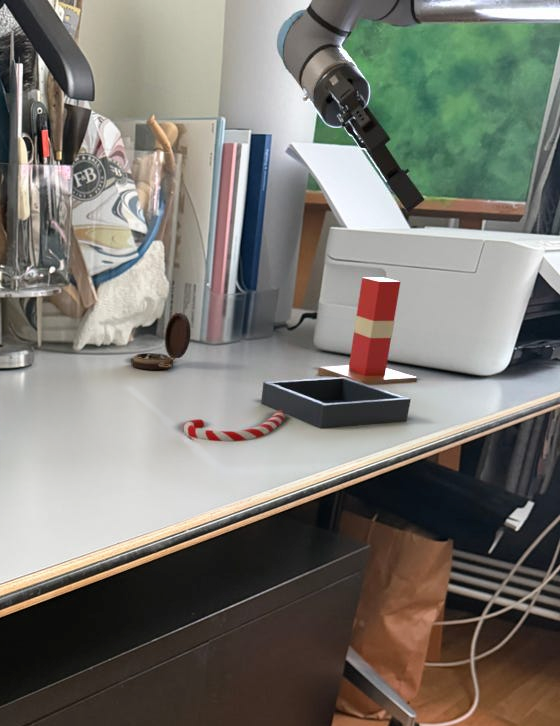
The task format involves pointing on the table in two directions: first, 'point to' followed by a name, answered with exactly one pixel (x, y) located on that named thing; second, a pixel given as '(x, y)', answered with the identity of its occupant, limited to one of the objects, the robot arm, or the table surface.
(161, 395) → the table surface
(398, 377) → the board
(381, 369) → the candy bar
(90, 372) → the table surface
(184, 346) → the compass
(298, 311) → the table surface
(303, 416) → the tray
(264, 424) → the candy cane
